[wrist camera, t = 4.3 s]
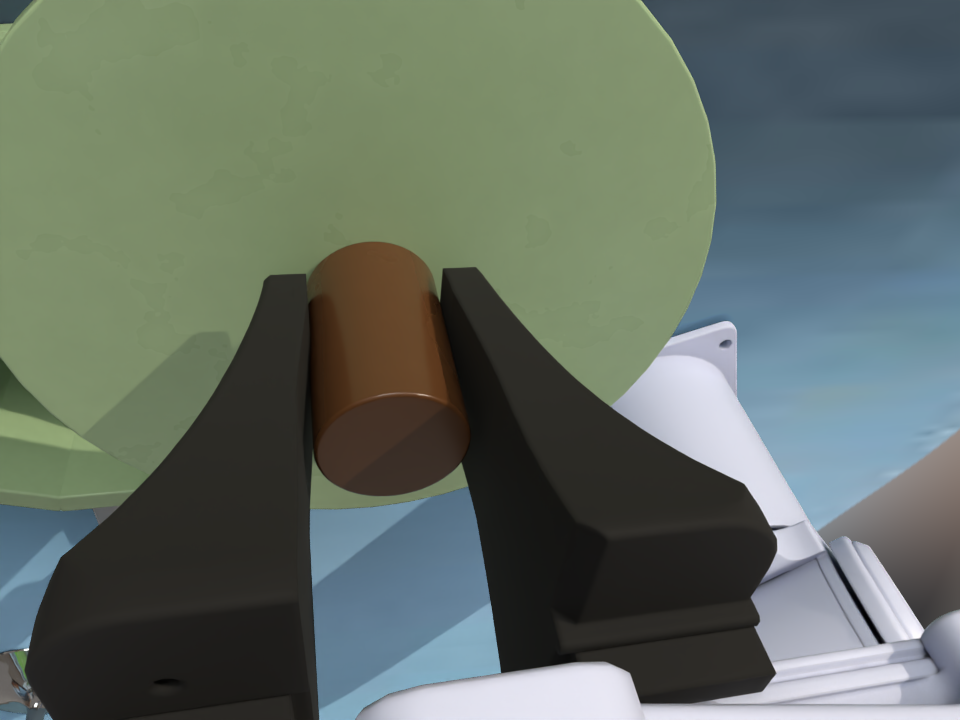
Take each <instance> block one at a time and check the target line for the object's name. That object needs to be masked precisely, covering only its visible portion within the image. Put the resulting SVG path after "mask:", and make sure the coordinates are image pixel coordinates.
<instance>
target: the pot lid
mask: <svg viewBox="0 0 960 720" xmlns="http://www.w3.org/2000/svg"><path fill="white" fill-rule="evenodd" d="M715 208H716V166H715V157H714V151H713V145H712V140H711V134H710V128H709V123H708V119H707V116H706V113H705V111H704V108H703V105H702V102H701V99H700V96H699V93H698V91H697V88H696V85H695V82H694V79H693V78H692V76H691V74H690V72H689V70H688V68H687V67H686V65H685V63H684V61H683V59H682V58H681V56H680V54H679V52H678V50H677V48H676V47H675V45H674V43H673V41H672V39H671V38H670V37H669V35H668V34H667V33H666V32H665V30H664V29H663V28H662V26H661V25H660V24H659V23H658V21H657V20H656V19H655V18H654V16H653V15H652V14H651V12H650V11H649V10H648V9H647V7H646V6H645V5H644V4H643V2H642V1H641V0H33V1H32V2H31V3H30V4H29V5H28V6H27V8H26V9H25V10H24V11H23V12H22V13H21V14H20V15H19V16H18V17H17V18H16V20H15V21H14V23H13V24H12V26H11V28H10V29H9V31H8V32H7V34H6V35H5V37H4V39H3V40H2V42H1V43H0V358H1V359H2V360H3V361H4V363H5V364H6V365H7V367H8V368H9V369H10V370H11V372H12V373H13V374H14V376H15V377H16V378H17V380H18V381H19V382H20V383H21V385H22V386H23V387H24V388H25V389H26V390H27V391H29V392H30V393H31V394H32V395H33V396H34V397H35V398H36V399H37V400H38V401H39V402H40V403H41V404H42V405H43V406H44V407H45V408H46V409H47V410H48V411H49V412H50V413H51V414H52V415H53V416H55V417H56V418H57V419H59V420H60V421H61V422H62V423H64V424H65V425H66V426H68V427H69V428H70V429H72V430H73V431H74V432H75V433H77V434H78V435H79V436H81V437H82V438H83V439H85V440H87V441H88V442H90V443H91V444H93V445H95V446H96V447H98V448H100V449H101V450H103V451H105V452H106V453H108V454H110V455H111V456H113V457H114V458H116V459H118V460H120V461H122V462H124V463H126V464H128V465H131V466H133V467H135V468H137V469H139V470H141V471H143V472H145V473H147V474H149V475H151V474H152V472H153V471H154V470H155V469H156V468H157V467H158V466H159V465H160V463H161V462H162V461H163V460H164V459H165V458H166V457H167V455H168V454H169V453H170V452H171V450H172V449H173V448H174V447H175V445H176V444H177V443H178V442H179V440H180V439H181V438H182V437H183V435H184V434H185V433H186V432H187V430H188V429H189V428H190V426H191V425H192V424H193V422H194V421H195V419H196V418H197V417H198V415H199V414H200V412H201V411H202V409H203V408H204V406H205V405H206V404H207V402H208V400H209V399H210V397H211V396H212V394H213V393H214V391H215V389H216V388H217V386H218V384H219V383H220V381H221V379H222V377H223V376H224V374H225V372H226V370H227V369H228V367H229V365H230V363H231V362H232V360H233V358H234V356H235V354H236V352H237V350H238V348H239V346H240V344H241V342H242V339H243V337H244V335H245V333H246V331H247V329H248V327H249V324H250V322H251V320H252V317H253V315H254V312H255V309H256V307H257V304H258V301H259V298H260V295H261V291H262V287H263V282H264V280H265V279H266V278H267V277H268V276H269V275H281V274H306V281H307V295H308V311H309V329H310V363H309V379H310V399H311V418H312V438H313V458H312V478H311V497H310V509H350V508H365V507H376V506H383V505H390V504H397V503H404V502H410V501H415V500H419V499H423V498H428V497H432V496H437V495H441V494H445V493H448V492H452V491H455V490H458V489H461V488H465V487H468V484H467V480H466V477H465V473H464V470H463V466H462V463H461V462H462V461H463V459H464V457H465V456H466V454H467V451H468V449H469V446H470V441H471V430H470V425H469V420H468V416H467V412H466V408H465V404H464V400H463V396H462V392H461V388H460V384H459V379H458V375H457V371H456V367H455V363H454V359H453V355H452V351H451V347H450V343H449V338H448V334H447V330H446V326H445V322H444V318H443V314H442V310H441V306H440V296H441V283H442V270H443V268H464V267H476V268H477V269H478V270H479V271H480V272H481V273H482V274H483V275H484V277H485V278H486V279H487V281H488V282H489V283H490V285H491V286H492V287H493V288H494V290H495V291H496V292H497V294H498V295H499V296H500V297H501V299H502V300H503V301H504V302H505V304H506V305H507V306H508V307H509V308H510V310H511V311H512V312H513V313H514V314H515V316H516V317H517V318H518V319H519V320H520V322H521V323H522V324H523V325H524V326H525V327H526V328H527V329H528V330H529V332H530V333H531V334H532V335H533V336H534V337H535V338H536V339H537V340H538V342H539V343H540V344H541V345H542V346H543V347H544V348H545V349H546V350H547V351H548V352H549V353H550V354H551V355H552V356H553V357H554V358H555V359H556V360H557V361H558V362H559V363H560V364H561V365H562V366H563V367H564V368H565V369H566V370H567V371H568V372H569V373H570V374H571V375H573V376H574V377H575V378H576V379H577V380H578V381H579V382H580V383H581V384H583V385H584V386H585V387H586V388H588V389H589V390H590V391H591V392H592V393H594V394H595V395H596V396H597V397H599V398H600V399H601V400H602V401H604V402H605V403H606V404H608V405H609V406H611V405H613V404H614V403H615V402H616V401H617V400H618V399H619V398H620V397H622V396H623V395H624V394H625V393H626V392H627V391H628V390H629V389H630V387H631V386H632V385H633V384H634V383H635V382H636V381H637V380H638V379H639V378H640V377H641V376H642V374H643V373H644V372H645V371H646V370H647V369H648V368H649V367H650V365H651V364H652V363H653V361H654V360H655V359H656V357H657V356H658V355H659V353H660V352H661V350H662V349H663V348H664V346H665V345H666V344H667V342H668V341H669V340H670V338H671V336H672V335H673V333H674V331H675V329H676V328H677V326H678V324H679V322H680V321H681V319H682V317H683V316H684V314H685V312H686V310H687V308H688V306H689V304H690V301H691V299H692V297H693V294H694V292H695V290H696V287H697V285H698V283H699V280H700V278H701V275H702V272H703V268H704V265H705V261H706V258H707V254H708V250H709V247H710V243H711V239H712V231H713V223H714V216H715Z"/></svg>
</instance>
